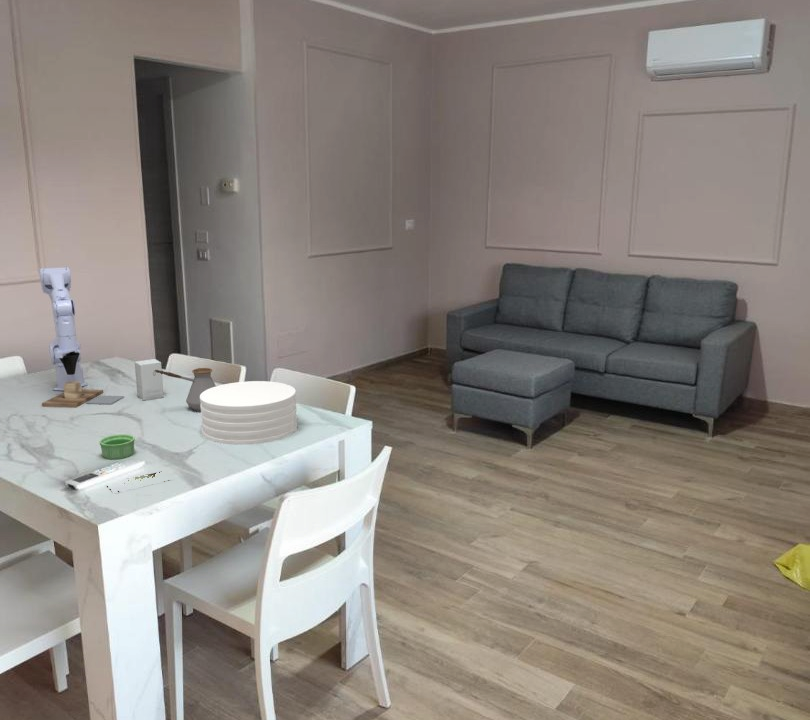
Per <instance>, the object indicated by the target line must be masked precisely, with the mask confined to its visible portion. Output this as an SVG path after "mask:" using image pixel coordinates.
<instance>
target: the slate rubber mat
mask: <svg viewBox="0 0 810 720" xmlns="http://www.w3.org/2000/svg"><path fill="white" fill-rule="evenodd" d="M124 398H125V396H124V395H99V396H97V397H95V398H93V399H91V400H89V401H88V402H86V403H85V405H113V404H115V403H117V402H118V401H120V400H122V399H124Z"/></svg>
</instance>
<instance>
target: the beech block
mask: <svg viewBox="0 0 810 720" xmlns="http://www.w3.org/2000/svg"><path fill="white" fill-rule="evenodd" d="M63 387H64V391H63V393H64V395H65V398H70V399H77V398H79V397H81V396H82V390H81V389H82V387H81V382H75V381H69V382H67V383H65V384H63Z"/></svg>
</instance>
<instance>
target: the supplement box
mask: <svg viewBox="0 0 810 720" xmlns="http://www.w3.org/2000/svg"><path fill="white" fill-rule="evenodd" d="M155 370H159V371H163V369H162V362H161V361H159V360H158V359H156V358H151V359H145V360H136V361H134V371H135V383H136V395H137V397H138V398H139V399H141V400H142V401H151V400H156V399H162V398H164V397H165V394H164V393H165V391H164V383H163V382H164V381H163V374H161V373H157V372H154V371H155ZM153 372H154V375H155V373H156V375H155V376H153Z"/></svg>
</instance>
